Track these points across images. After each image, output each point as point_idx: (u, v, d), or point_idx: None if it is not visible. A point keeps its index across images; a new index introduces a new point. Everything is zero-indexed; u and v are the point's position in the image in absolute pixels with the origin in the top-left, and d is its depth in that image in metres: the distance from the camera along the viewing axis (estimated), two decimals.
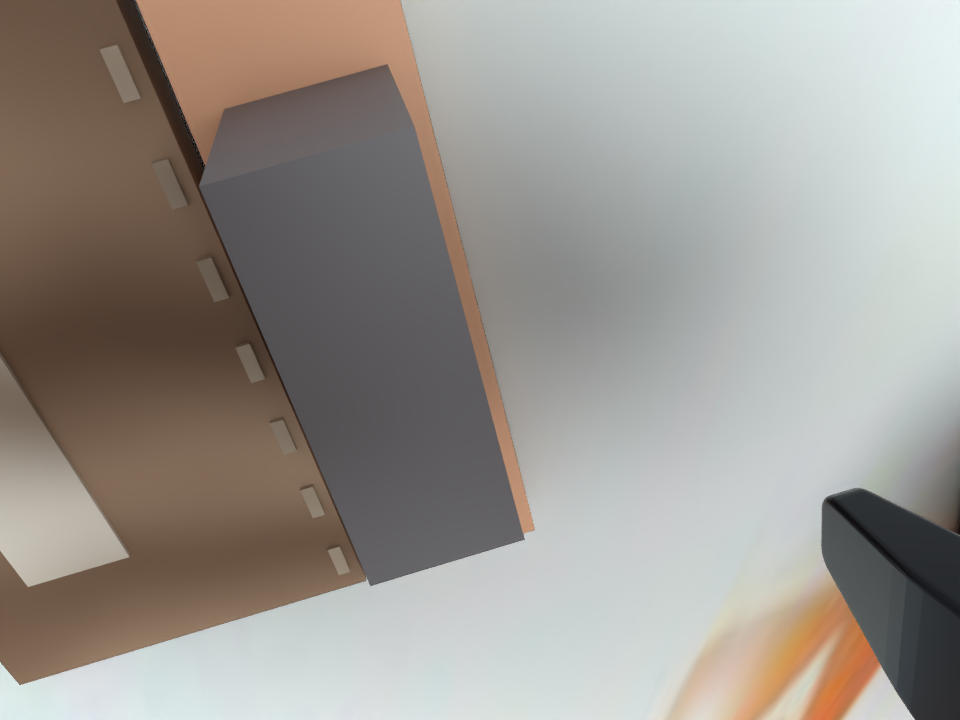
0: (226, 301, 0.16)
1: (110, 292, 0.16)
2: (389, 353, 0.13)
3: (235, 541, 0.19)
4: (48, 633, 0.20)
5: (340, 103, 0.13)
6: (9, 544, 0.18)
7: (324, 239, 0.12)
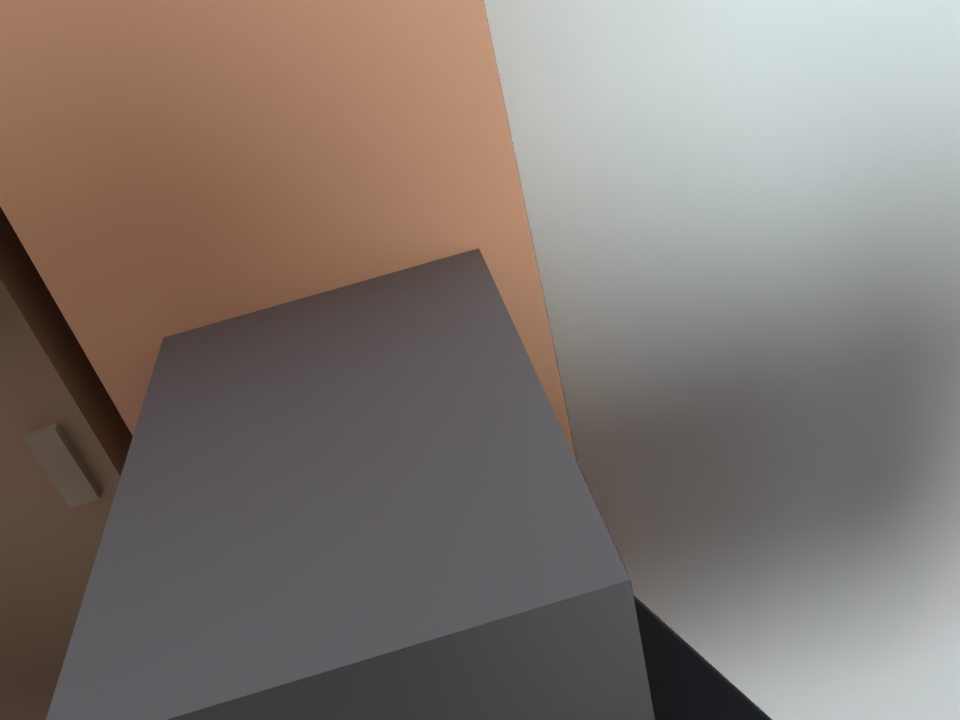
0: None
1: None
2: None
3: None
4: None
5: (400, 383, 0.06)
6: None
7: None
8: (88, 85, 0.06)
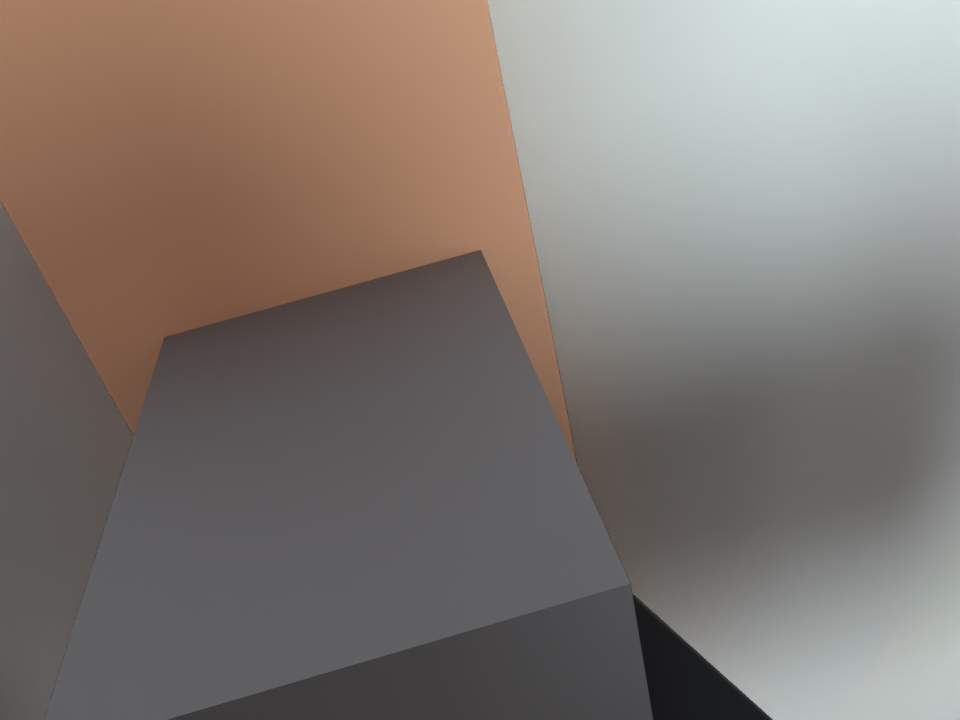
0: None
1: None
2: None
3: None
4: None
5: (401, 385, 0.06)
6: None
7: None
8: (91, 84, 0.06)
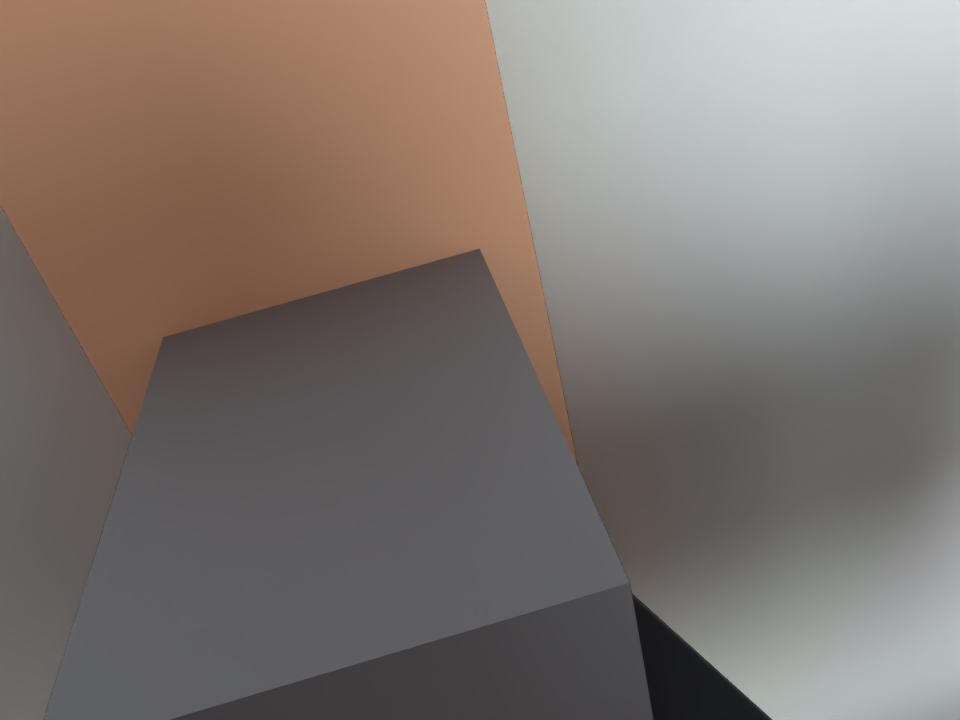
0: None
1: None
2: None
3: None
4: None
5: (399, 384, 0.06)
6: None
7: None
8: (88, 84, 0.06)
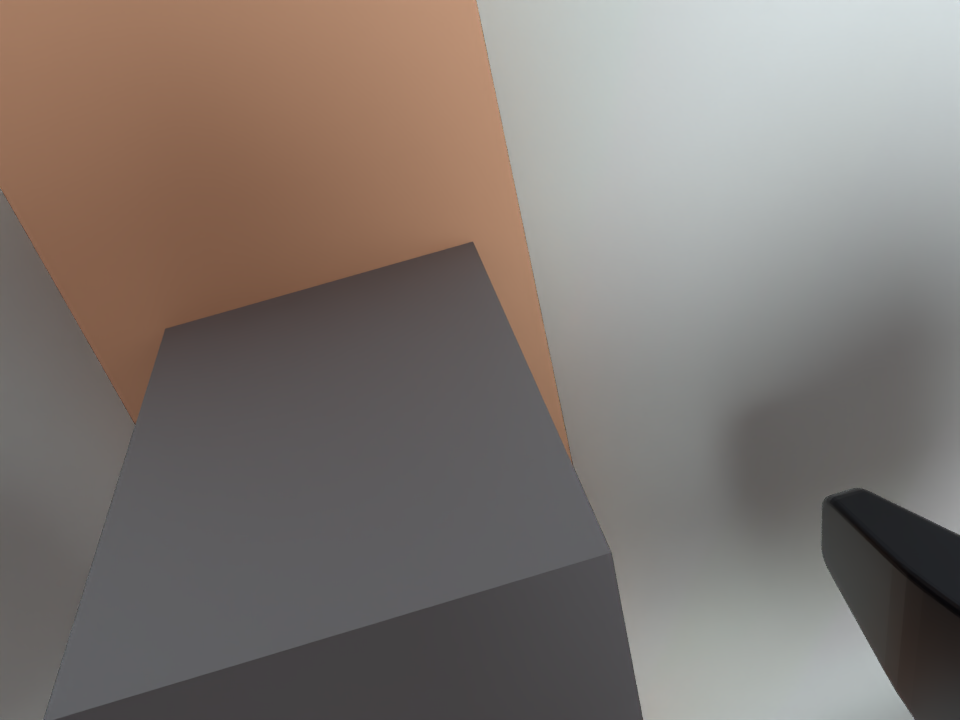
0: None
1: None
2: None
3: None
4: None
5: (394, 371, 0.06)
6: None
7: None
8: (92, 82, 0.07)
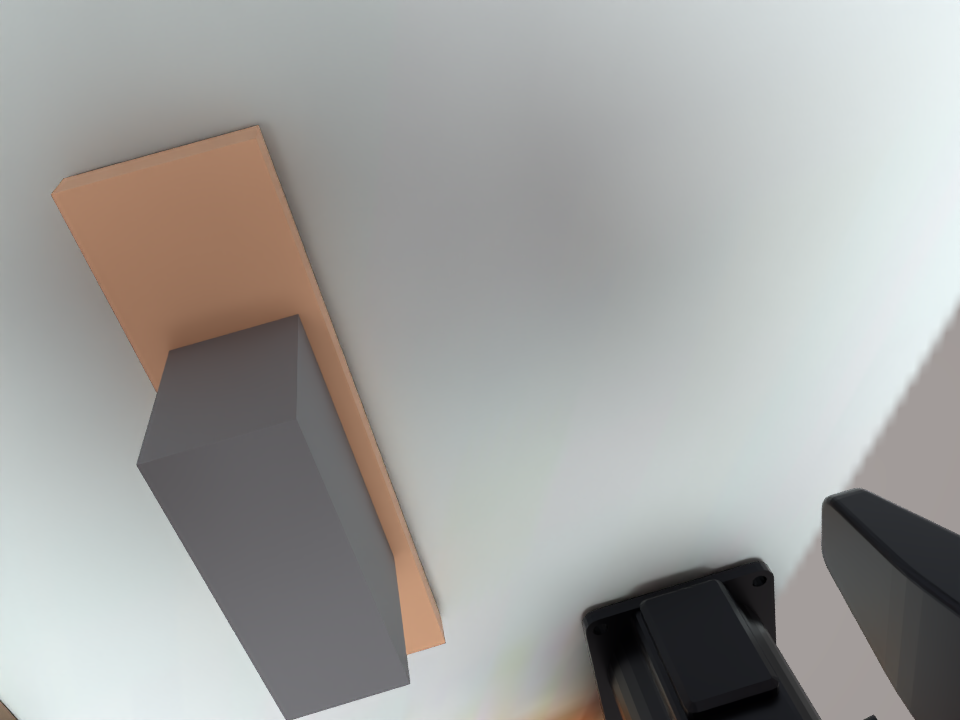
0: None
1: None
2: (289, 563, 0.17)
3: None
4: None
5: (253, 368, 0.17)
6: None
7: (232, 493, 0.16)
8: (142, 259, 0.17)
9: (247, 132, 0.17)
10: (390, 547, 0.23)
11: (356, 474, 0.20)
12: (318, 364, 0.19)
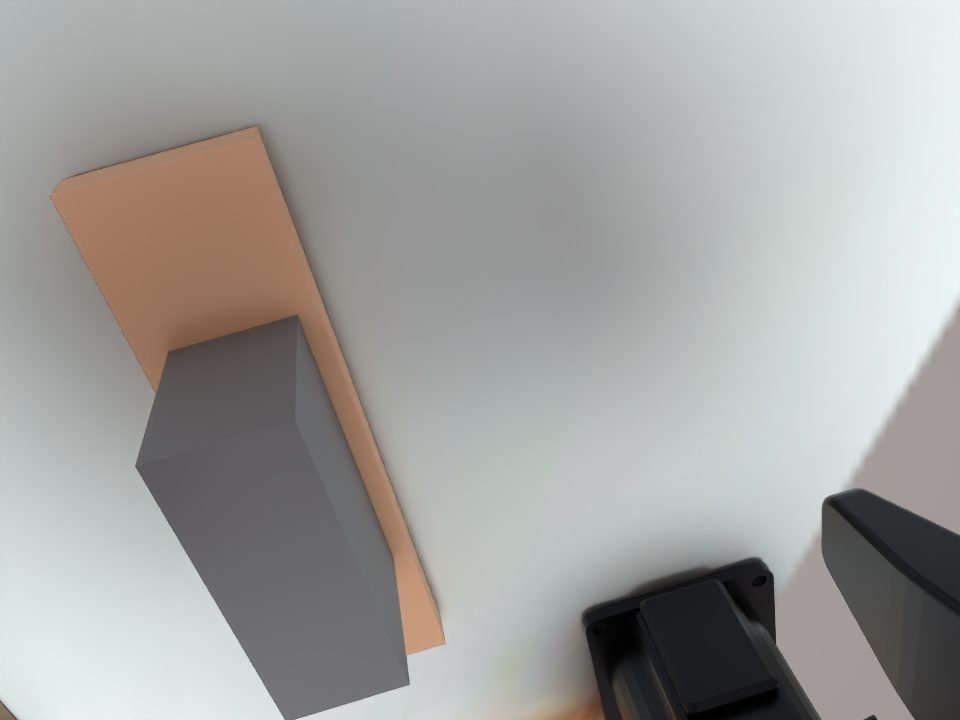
0: None
1: None
2: (288, 564, 0.17)
3: None
4: None
5: (252, 369, 0.17)
6: None
7: (231, 494, 0.16)
8: (141, 260, 0.17)
9: (246, 133, 0.17)
10: (390, 548, 0.23)
11: (355, 475, 0.20)
12: (317, 365, 0.19)
